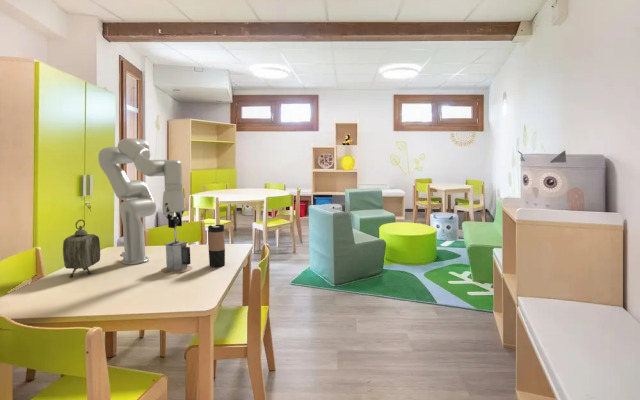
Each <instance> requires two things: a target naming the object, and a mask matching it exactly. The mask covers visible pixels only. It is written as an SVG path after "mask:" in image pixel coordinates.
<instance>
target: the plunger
mask: <svg viewBox="0 0 640 400" xmlns="http://www.w3.org/2000/svg"><path fill="white" fill-rule="evenodd" d="M174 219H175V228H173V230H174V231H173V233H174V241H175V244H176V243H177V241H178V236H177V235H178V234H177V233H178V232H177V231H178V230H177V226H176V225H177V224H178V223H179V221H180V220H179V218H178V217H176V215H174Z"/></svg>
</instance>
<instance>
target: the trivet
mask: <svg viewBox="0 0 640 400" xmlns="http://www.w3.org/2000/svg"><path fill="white" fill-rule="evenodd" d="M192 270H193V266H191V265H187V269H186V270H184V271H179V272H169V271H167V266H166V267H163V268H161V270H160V272H161V273H163V274H168V275H169V274H170V275H171V274H173V275H175V274H182V273H187V272H191V271H192Z"/></svg>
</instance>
